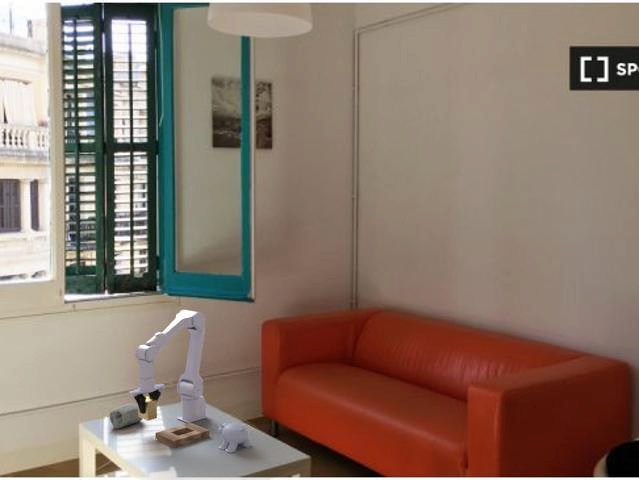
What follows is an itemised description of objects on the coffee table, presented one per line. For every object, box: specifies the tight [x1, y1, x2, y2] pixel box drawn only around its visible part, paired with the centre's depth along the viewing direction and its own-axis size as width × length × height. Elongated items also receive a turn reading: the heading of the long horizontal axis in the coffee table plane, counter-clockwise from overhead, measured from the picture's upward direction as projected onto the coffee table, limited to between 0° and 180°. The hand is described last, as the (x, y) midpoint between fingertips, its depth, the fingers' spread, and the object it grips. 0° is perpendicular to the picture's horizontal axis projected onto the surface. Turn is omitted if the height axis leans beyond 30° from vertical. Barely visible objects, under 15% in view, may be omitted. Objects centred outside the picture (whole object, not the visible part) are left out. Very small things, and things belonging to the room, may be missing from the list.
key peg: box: [138, 396, 158, 421], centre depth 289 cm, size 4×6×7 cm, turn 46°
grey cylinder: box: [109, 402, 144, 430], centre depth 300 cm, size 14×10×10 cm
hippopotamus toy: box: [217, 421, 253, 454], centre depth 278 cm, size 11×15×10 cm
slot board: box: [154, 422, 211, 449], centre depth 286 cm, size 16×12×2 cm
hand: (147, 411), depth 289 cm, fingers closed on key peg, 4 cm apart
